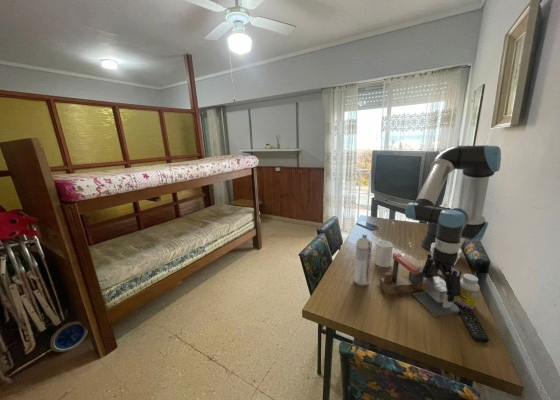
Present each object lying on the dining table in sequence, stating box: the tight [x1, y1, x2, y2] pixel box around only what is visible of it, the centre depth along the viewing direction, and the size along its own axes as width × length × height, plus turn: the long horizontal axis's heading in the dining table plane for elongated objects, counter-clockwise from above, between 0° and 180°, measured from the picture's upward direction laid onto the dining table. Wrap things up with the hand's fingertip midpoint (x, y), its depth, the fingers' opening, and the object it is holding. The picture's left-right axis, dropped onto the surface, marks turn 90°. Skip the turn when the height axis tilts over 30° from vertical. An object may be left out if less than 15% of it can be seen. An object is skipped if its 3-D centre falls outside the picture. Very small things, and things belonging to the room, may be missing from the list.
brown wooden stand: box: [379, 259, 439, 295], centre depth 100 cm, size 26×6×15 cm, turn 96°
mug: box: [374, 239, 394, 268], centre depth 119 cm, size 12×8×12 cm
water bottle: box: [353, 233, 373, 287], centre depth 103 cm, size 7×7×25 cm
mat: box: [412, 291, 460, 316], centre depth 91 cm, size 12×12×1 cm
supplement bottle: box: [454, 273, 480, 310], centre depth 89 cm, size 7×7×13 cm
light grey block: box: [422, 276, 456, 303], centre depth 90 cm, size 7×9×5 cm
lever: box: [392, 252, 419, 274], centre depth 92 cm, size 13×3×2 cm, turn 8°
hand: (436, 298), depth 91 cm, fingers closed on light grey block, 9 cm apart
